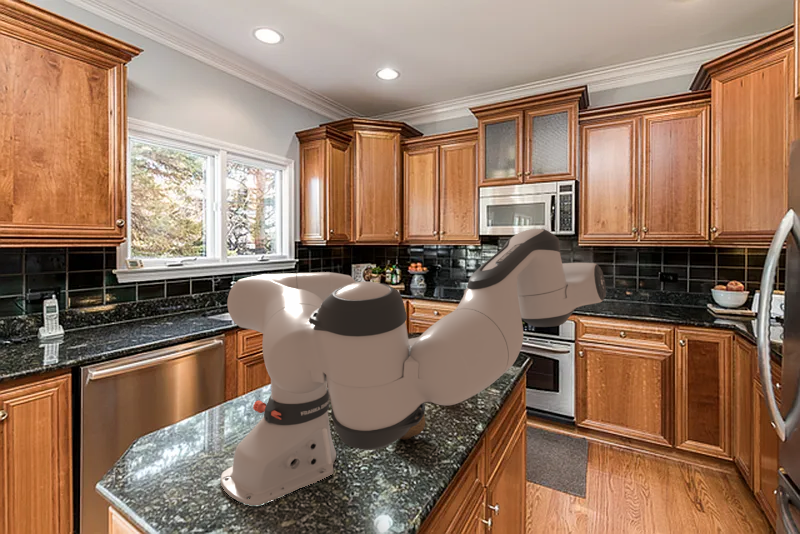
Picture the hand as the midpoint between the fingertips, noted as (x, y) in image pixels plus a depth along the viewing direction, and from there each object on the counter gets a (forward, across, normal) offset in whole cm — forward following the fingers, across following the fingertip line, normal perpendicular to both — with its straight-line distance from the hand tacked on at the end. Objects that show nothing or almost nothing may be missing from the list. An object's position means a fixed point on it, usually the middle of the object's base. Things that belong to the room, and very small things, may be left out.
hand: (478, 291), depth 96 cm
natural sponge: (+9, -20, -32) cm, 39 cm away
